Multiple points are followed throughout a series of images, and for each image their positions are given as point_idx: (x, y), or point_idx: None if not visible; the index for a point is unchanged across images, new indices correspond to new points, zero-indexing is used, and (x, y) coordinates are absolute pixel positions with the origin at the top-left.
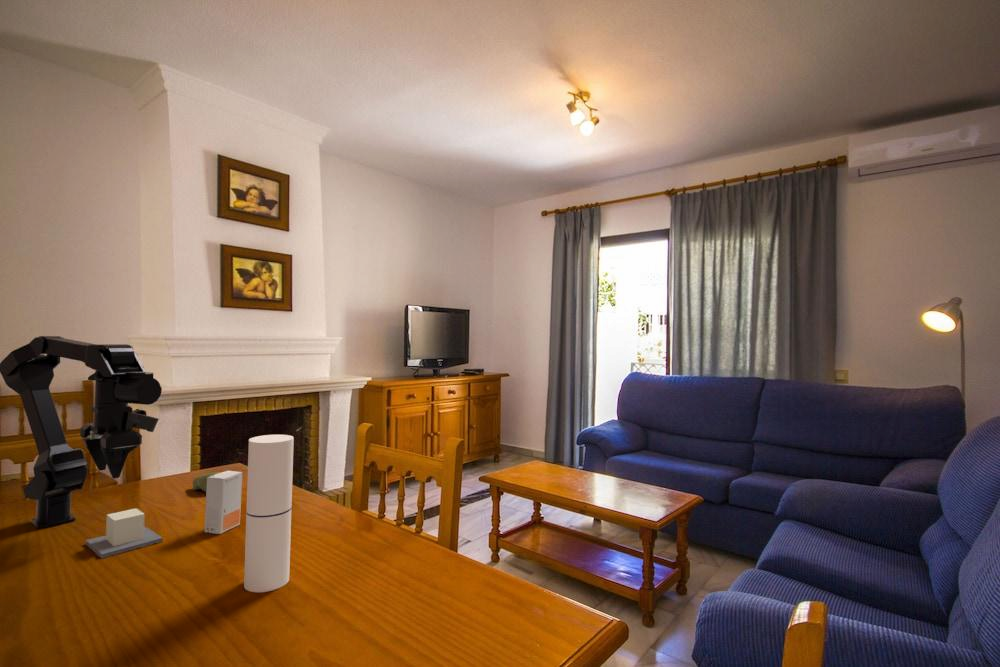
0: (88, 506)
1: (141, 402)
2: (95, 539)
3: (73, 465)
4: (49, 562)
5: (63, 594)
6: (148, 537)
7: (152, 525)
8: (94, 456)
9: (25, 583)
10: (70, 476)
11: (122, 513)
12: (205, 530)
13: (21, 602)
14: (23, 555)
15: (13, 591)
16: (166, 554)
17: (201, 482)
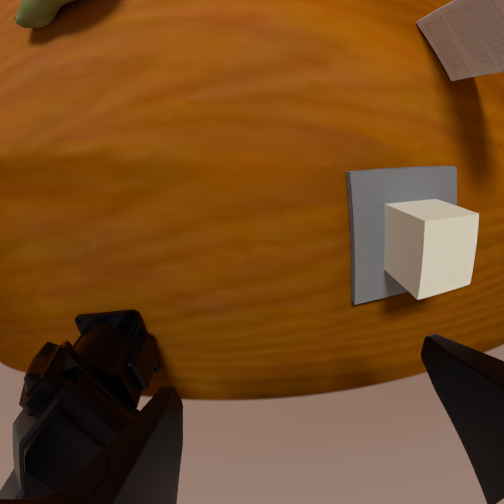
0: (35, 271)
1: None
2: (366, 288)
3: (97, 453)
4: (393, 345)
5: (494, 314)
6: (437, 188)
7: (323, 144)
8: (175, 491)
9: None
10: (120, 427)
11: (440, 263)
12: (455, 80)
13: (475, 348)
14: (322, 381)
15: None
16: (495, 183)
17: None
